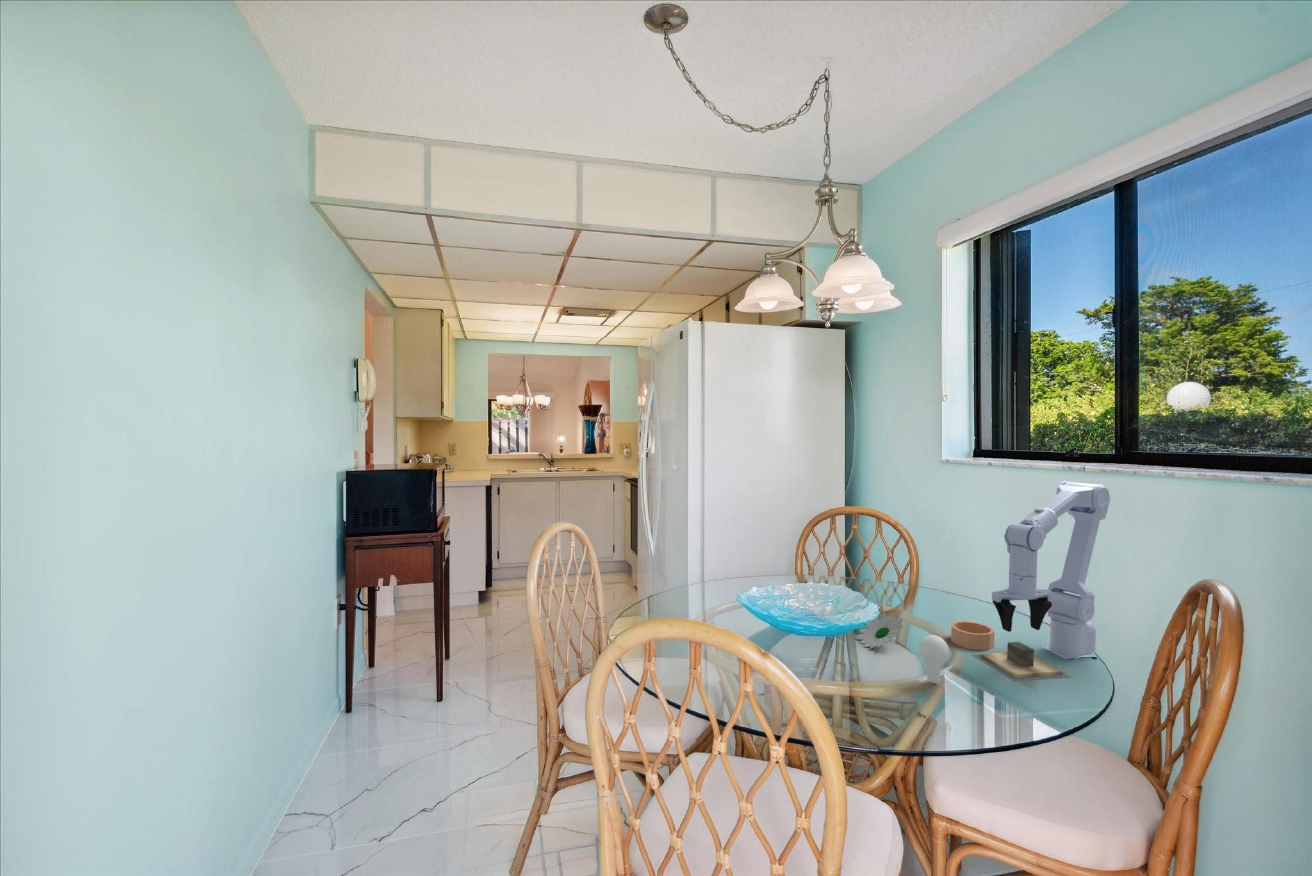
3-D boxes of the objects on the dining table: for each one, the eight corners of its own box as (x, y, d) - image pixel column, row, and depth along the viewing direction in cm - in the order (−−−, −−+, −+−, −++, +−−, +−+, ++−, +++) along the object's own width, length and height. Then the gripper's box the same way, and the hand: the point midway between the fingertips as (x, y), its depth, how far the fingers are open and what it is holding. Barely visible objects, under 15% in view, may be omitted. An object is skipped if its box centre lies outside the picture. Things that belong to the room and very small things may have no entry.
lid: (1024, 654, 155) (1024, 635, 155) (1062, 674, 143) (1062, 654, 143) (980, 656, 153) (981, 638, 153) (1015, 677, 141) (1016, 657, 141)
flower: (867, 595, 186) (906, 617, 156) (877, 610, 186) (919, 636, 156) (831, 619, 186) (863, 646, 156) (841, 634, 186) (875, 664, 156)
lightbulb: (940, 677, 143) (941, 631, 142) (952, 689, 136) (953, 641, 136) (914, 677, 143) (915, 630, 142) (924, 689, 137) (926, 640, 136)
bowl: (976, 636, 168) (977, 620, 168) (1002, 650, 159) (1002, 633, 158) (943, 638, 167) (943, 622, 167) (966, 652, 157) (967, 635, 157)
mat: (1025, 653, 157) (1025, 651, 157) (1072, 679, 142) (1072, 677, 142) (971, 656, 155) (971, 654, 155) (1014, 683, 140) (1014, 681, 140)
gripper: (1037, 568, 152) (1035, 622, 153) (984, 570, 150) (982, 625, 151) (1059, 576, 145) (1057, 632, 146) (1004, 578, 143) (1002, 635, 144)
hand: (1021, 629), depth 148 cm, fingers open, 7 cm apart
